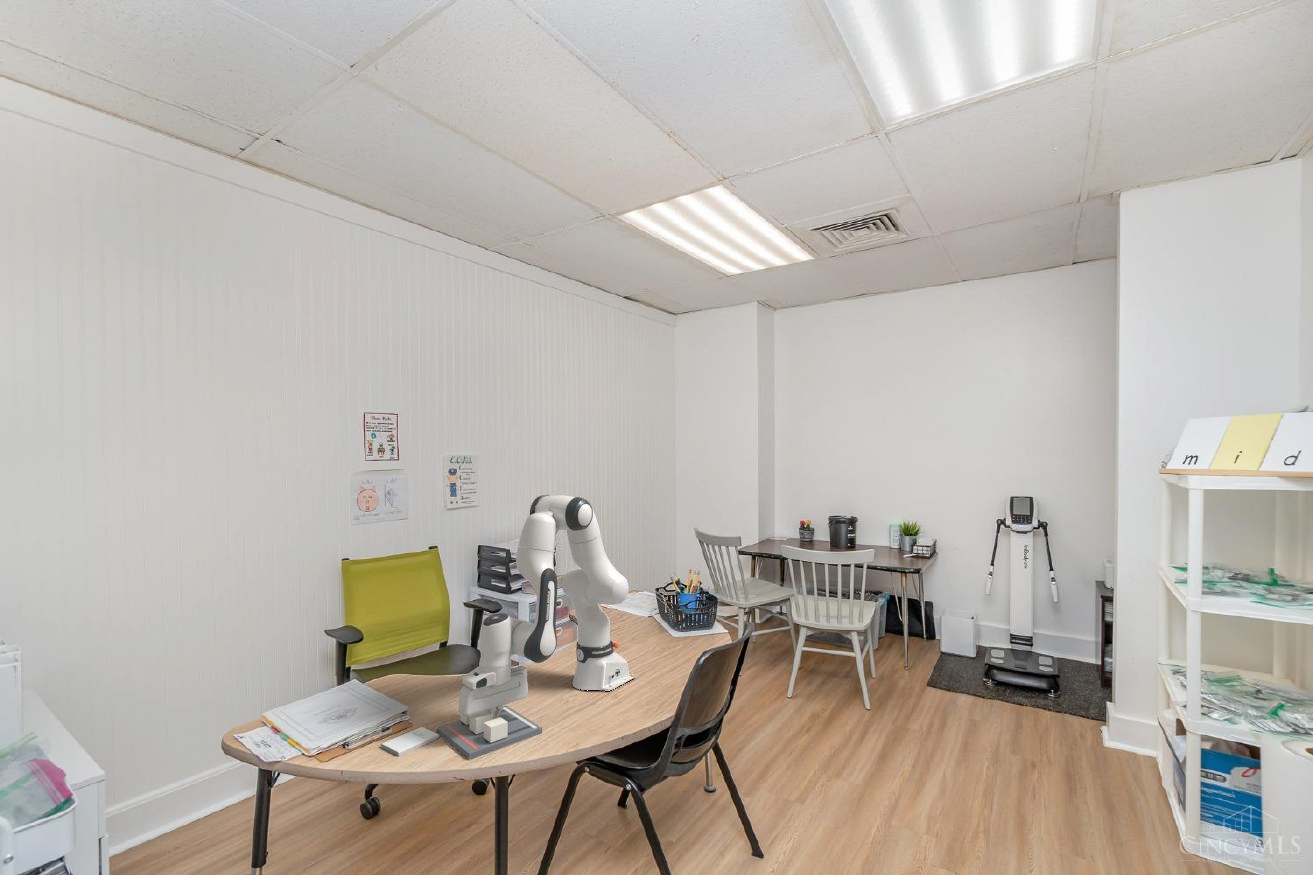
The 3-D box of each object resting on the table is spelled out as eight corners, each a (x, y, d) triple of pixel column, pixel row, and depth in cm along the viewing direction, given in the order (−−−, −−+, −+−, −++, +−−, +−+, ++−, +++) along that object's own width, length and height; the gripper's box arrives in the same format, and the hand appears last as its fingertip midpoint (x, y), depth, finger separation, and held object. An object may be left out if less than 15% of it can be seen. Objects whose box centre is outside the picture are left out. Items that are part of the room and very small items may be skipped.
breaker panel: (506, 710, 184) (506, 705, 184) (542, 732, 170) (542, 727, 170) (436, 732, 169) (436, 726, 169) (469, 759, 154) (469, 753, 154)
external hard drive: (380, 749, 160) (421, 731, 170) (398, 758, 155) (439, 739, 166) (380, 743, 160) (421, 725, 170) (398, 752, 156) (439, 733, 166)
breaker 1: (476, 714, 176) (476, 701, 176) (482, 719, 173) (483, 705, 173) (460, 720, 173) (460, 706, 173) (466, 724, 170) (466, 710, 170)
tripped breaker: (485, 723, 171) (486, 709, 171) (492, 728, 168) (493, 714, 168) (469, 729, 167) (469, 714, 167) (476, 734, 164) (476, 719, 164)
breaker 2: (500, 731, 166) (500, 717, 166) (507, 736, 163) (507, 721, 163) (483, 737, 162) (483, 722, 163) (490, 742, 160) (491, 727, 160)
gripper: (521, 661, 180) (520, 707, 180) (456, 678, 166) (455, 729, 165) (532, 666, 175) (532, 714, 175) (467, 685, 161) (466, 737, 161)
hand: (494, 721), depth 170 cm, fingers closed
